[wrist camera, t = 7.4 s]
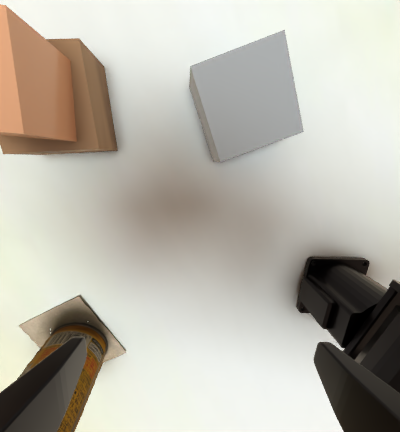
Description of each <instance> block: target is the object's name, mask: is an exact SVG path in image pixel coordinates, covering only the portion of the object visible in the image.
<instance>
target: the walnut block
mask: <svg viewBox="0 0 400 432" xmlns="http://www.w3.org/2000/svg"><path fill="white" fill-rule="evenodd" d="M46 40H47V41H48V42H49V43H50V44H52V45H53V46H54V47H55V48H56V49H58V50H59V51H60V52H61V53H62V54H63V55H65V56H66V57H67V58H68V59H69V60H70V61H71V74H72V87H73V99H74V112H75V125H76V137H77V142H73V141H62V140H50V139H38V138H26V137H14V136H2V135H0V145H1V148H2V151H3V154H32V155H47V154H65V153H83V152H101V151H118V150H117V144H116V138H115V131H114V125H113V119H112V113H111V106H110V100H109V94H108V88H107V81H106V75H105V69H104V66H103V65H102V64H101V63H100V62H99V60H98V59H97V58H96V57H95V56H94V55H93V54H92V53H91V51H90V50H89V49H88V48H87V47H86V46H85V45H84V44H83V42H82V41H81V40H80V39H46Z"/></svg>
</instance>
